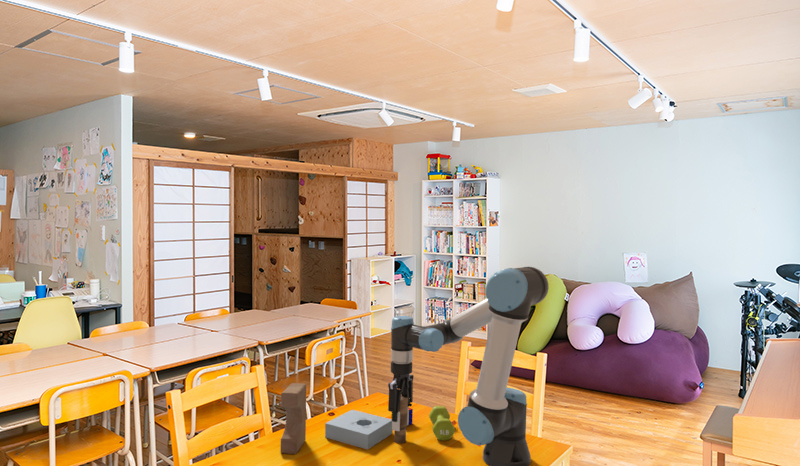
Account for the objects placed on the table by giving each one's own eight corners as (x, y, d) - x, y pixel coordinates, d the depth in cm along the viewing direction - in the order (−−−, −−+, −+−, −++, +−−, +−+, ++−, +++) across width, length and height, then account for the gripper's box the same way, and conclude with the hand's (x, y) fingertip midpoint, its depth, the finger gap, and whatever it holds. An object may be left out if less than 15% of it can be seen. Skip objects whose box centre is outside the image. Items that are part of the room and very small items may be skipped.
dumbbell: (455, 441, 188) (455, 421, 188) (432, 441, 188) (432, 421, 187) (449, 423, 204) (449, 404, 204) (428, 423, 204) (428, 404, 204)
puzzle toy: (391, 423, 203) (391, 408, 203) (402, 419, 207) (402, 405, 207) (401, 427, 199) (401, 412, 199) (412, 424, 203) (412, 409, 203)
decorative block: (296, 454, 175) (297, 393, 174) (279, 453, 176) (280, 392, 175) (306, 440, 186) (307, 383, 185) (290, 439, 187) (291, 382, 186)
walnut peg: (409, 440, 188) (410, 397, 188) (402, 444, 184) (403, 401, 184) (397, 436, 191) (398, 395, 190) (390, 441, 186) (391, 398, 186)
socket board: (392, 433, 194) (392, 419, 193) (367, 449, 180) (367, 434, 180) (351, 422, 203) (352, 409, 203) (325, 437, 189) (325, 423, 189)
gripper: (405, 354, 196) (404, 416, 197) (378, 365, 180) (376, 433, 181) (423, 357, 192) (422, 421, 193) (397, 369, 177) (395, 438, 177)
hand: (400, 427), depth 187 cm, fingers open, 5 cm apart
